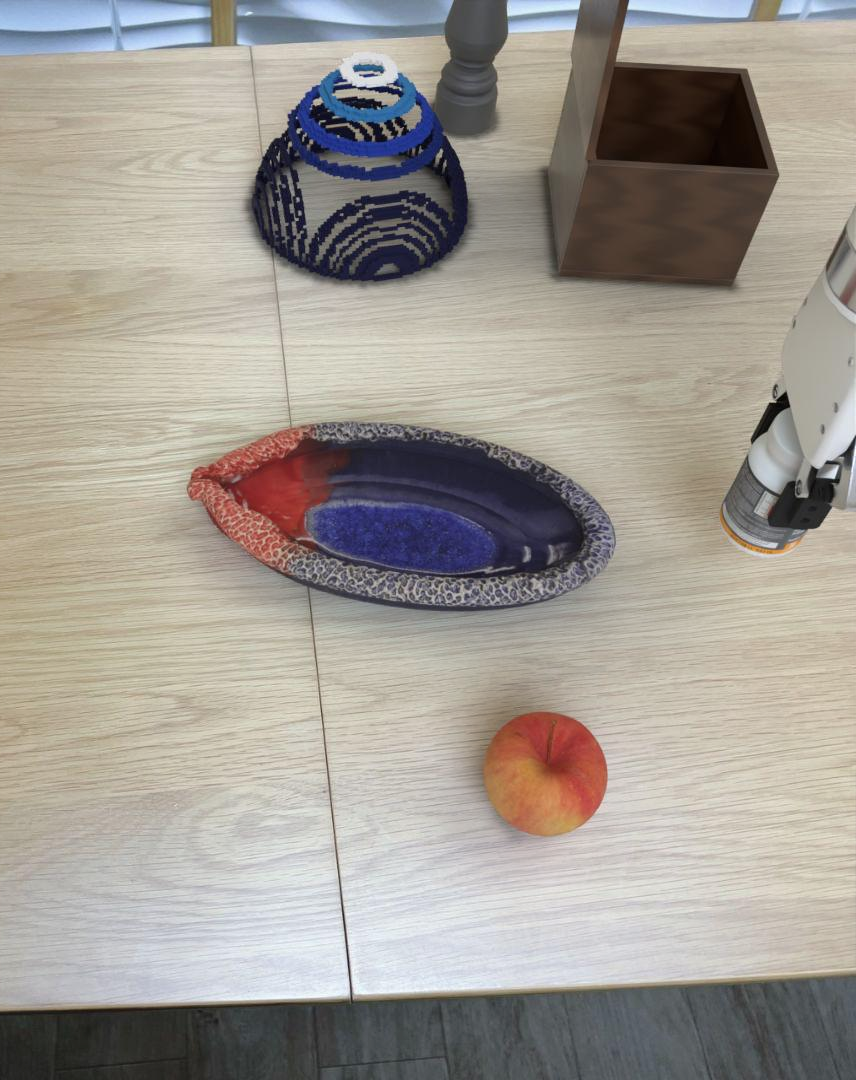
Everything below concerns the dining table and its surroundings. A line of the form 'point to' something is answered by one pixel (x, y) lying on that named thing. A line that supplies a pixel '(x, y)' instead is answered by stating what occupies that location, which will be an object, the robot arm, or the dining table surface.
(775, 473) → the pill bottle
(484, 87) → the candle holder
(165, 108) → the dining table surface
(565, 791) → the apple
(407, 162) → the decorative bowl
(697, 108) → the chest
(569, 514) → the dish
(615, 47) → the lid
